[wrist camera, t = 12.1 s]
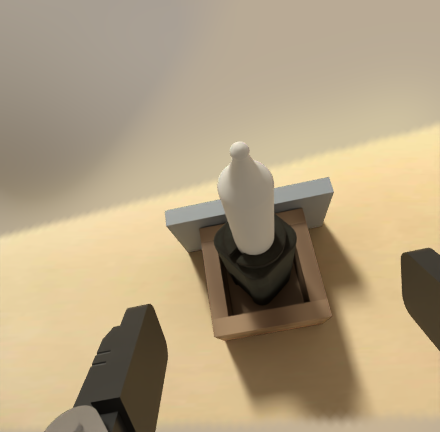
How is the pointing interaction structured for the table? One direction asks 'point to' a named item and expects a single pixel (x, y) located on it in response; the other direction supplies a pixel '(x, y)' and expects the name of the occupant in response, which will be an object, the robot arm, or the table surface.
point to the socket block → (280, 305)
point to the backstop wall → (283, 201)
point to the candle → (253, 228)
